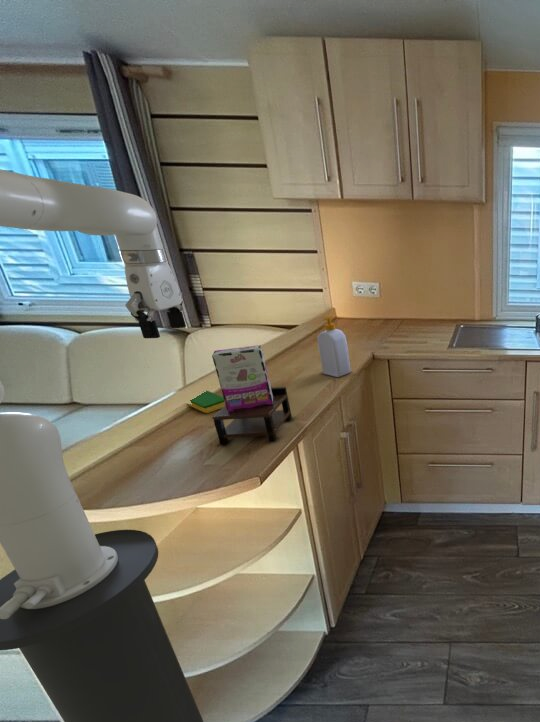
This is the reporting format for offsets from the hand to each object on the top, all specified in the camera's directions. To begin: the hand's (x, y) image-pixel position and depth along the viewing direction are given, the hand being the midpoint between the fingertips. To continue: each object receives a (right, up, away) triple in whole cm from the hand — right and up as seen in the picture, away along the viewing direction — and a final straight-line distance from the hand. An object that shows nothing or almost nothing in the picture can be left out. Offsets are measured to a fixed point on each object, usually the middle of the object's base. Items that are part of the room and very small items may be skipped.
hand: (166, 332), depth 97 cm
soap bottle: (+15, -10, +65) cm, 67 cm away
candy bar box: (+10, -19, +17) cm, 27 cm away
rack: (+10, -26, +21) cm, 35 cm away
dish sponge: (-17, -20, +37) cm, 45 cm away
